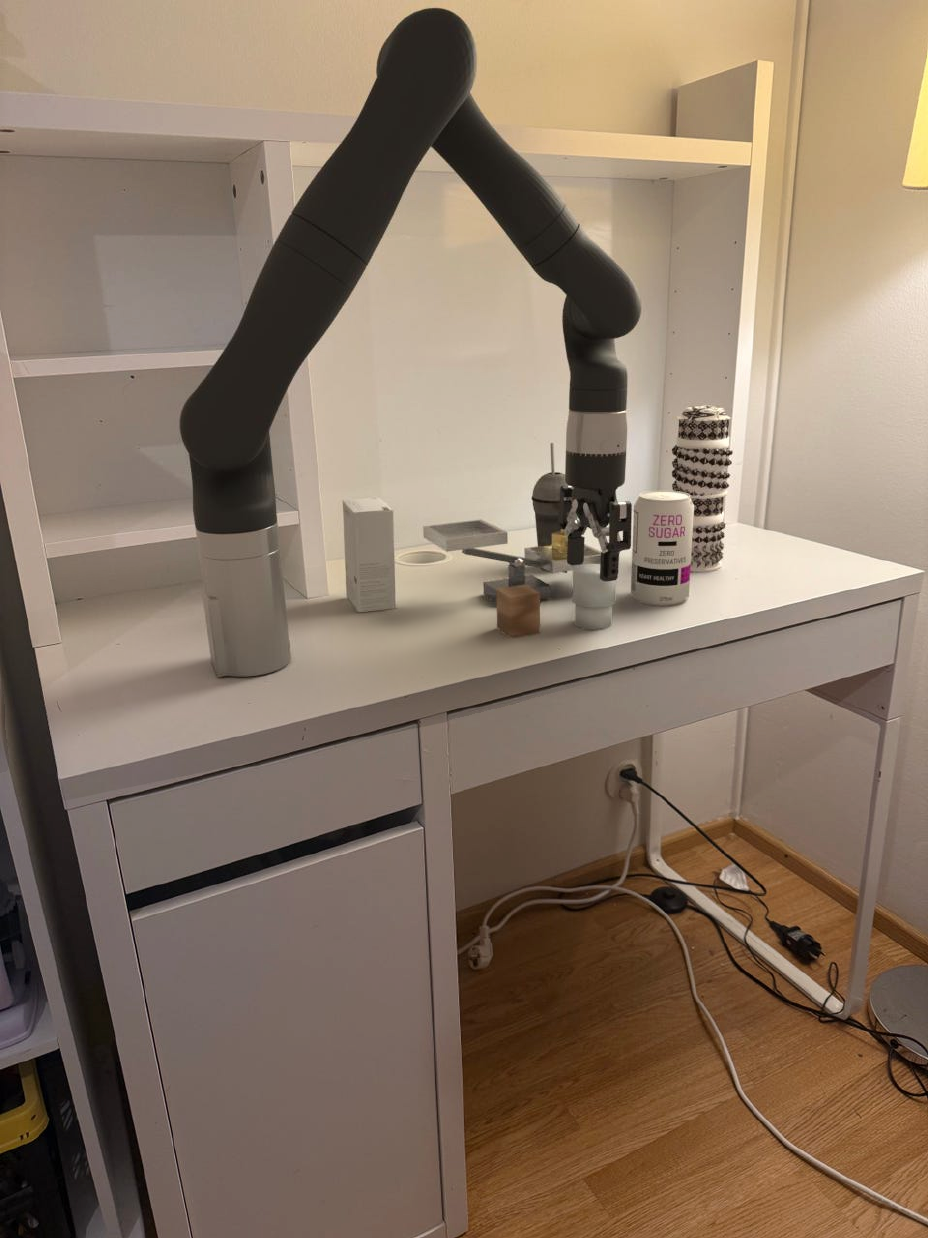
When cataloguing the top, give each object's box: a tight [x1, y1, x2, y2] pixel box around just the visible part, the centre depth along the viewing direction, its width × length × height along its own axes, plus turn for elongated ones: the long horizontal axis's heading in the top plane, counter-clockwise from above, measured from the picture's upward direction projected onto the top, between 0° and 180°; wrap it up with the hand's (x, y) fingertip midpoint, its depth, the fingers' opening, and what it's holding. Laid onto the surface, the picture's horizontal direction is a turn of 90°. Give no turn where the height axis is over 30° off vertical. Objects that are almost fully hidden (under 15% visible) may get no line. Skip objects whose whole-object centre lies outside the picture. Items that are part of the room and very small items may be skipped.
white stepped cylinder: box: [571, 564, 617, 631], centre depth 116 cm, size 6×6×8 cm
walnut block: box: [496, 585, 541, 639], centre depth 115 cm, size 4×4×6 cm
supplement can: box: [630, 489, 694, 607], centre depth 124 cm, size 8×8×15 cm
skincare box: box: [342, 497, 397, 613], centre depth 126 cm, size 8×6×15 cm
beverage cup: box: [530, 442, 570, 573], centre depth 140 cm, size 7×7×20 cm
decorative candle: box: [671, 405, 734, 573], centre depth 138 cm, size 9×9×25 cm
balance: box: [422, 518, 602, 605], centre depth 127 cm, size 25×9×11 cm, turn 112°
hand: (591, 572), depth 115 cm, fingers open, 8 cm apart
